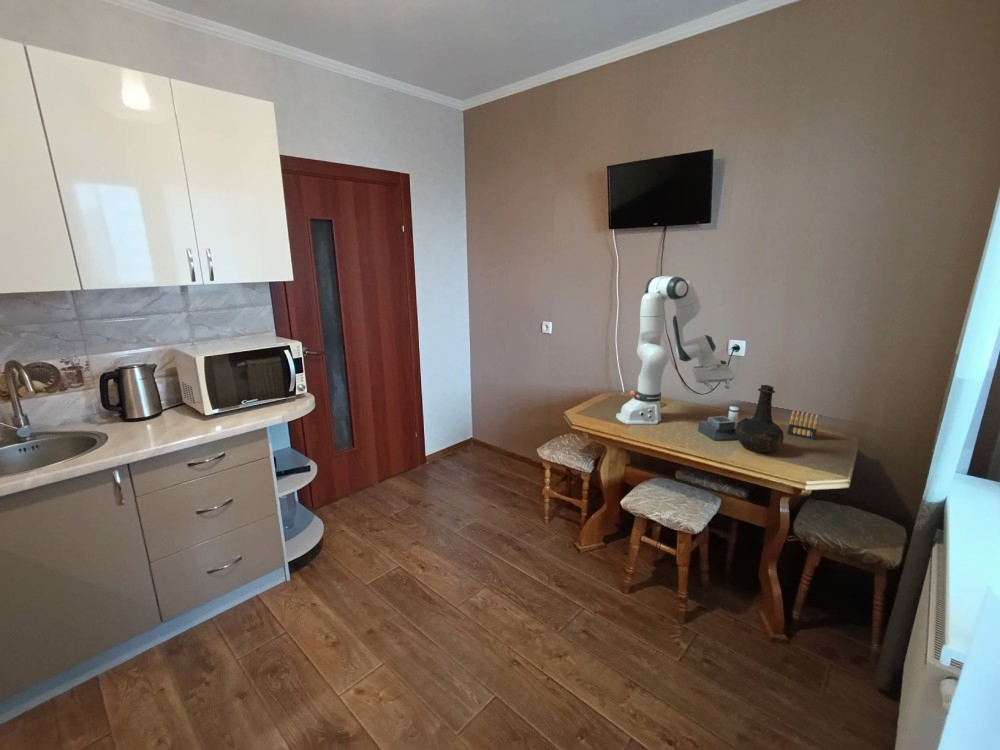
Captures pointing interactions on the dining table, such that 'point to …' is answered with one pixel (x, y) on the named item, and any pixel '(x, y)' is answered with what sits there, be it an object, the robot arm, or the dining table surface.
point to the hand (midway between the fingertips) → (719, 388)
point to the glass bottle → (760, 426)
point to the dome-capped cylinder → (733, 413)
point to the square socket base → (718, 428)
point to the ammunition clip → (803, 425)
